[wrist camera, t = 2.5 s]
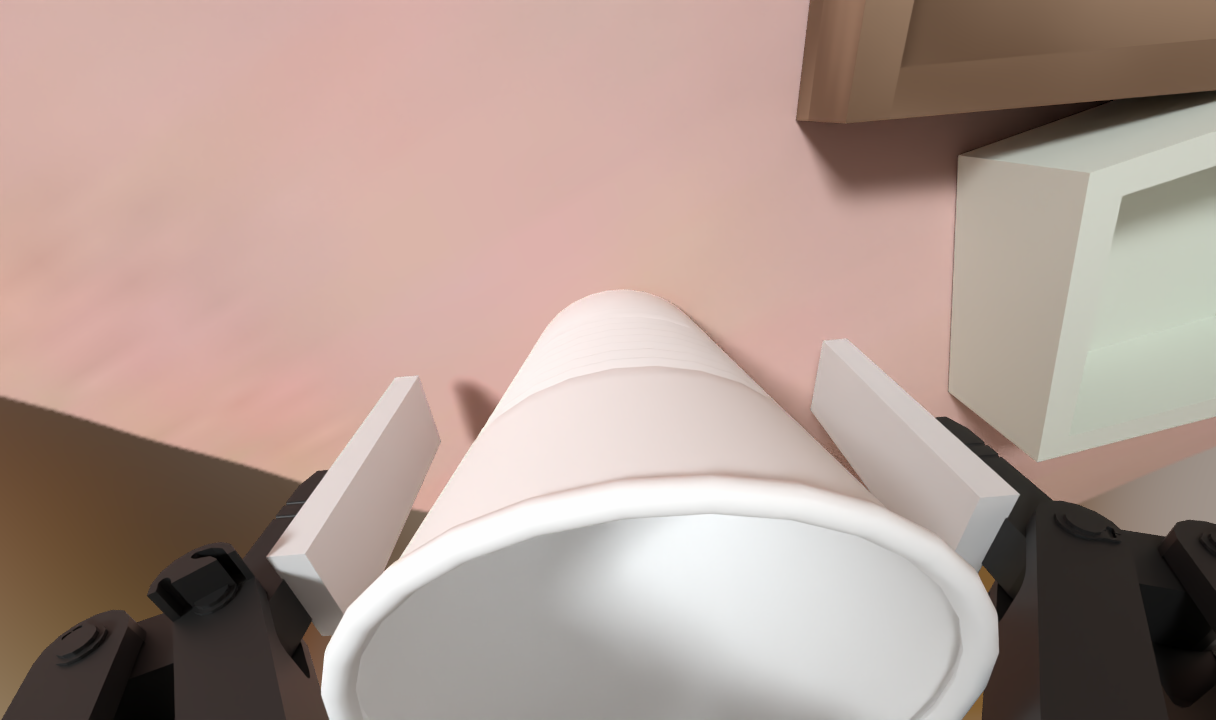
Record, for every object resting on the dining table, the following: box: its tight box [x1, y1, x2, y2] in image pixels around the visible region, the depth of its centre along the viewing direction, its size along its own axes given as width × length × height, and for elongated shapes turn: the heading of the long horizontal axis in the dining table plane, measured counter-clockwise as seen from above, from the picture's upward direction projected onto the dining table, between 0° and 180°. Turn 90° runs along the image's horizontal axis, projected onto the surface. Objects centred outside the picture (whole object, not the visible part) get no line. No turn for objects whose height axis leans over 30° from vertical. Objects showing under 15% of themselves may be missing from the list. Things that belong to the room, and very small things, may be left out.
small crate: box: [948, 90, 1216, 462], centre depth 13 cm, size 9×9×4 cm
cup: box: [321, 289, 999, 720], centre depth 12 cm, size 10×10×11 cm
